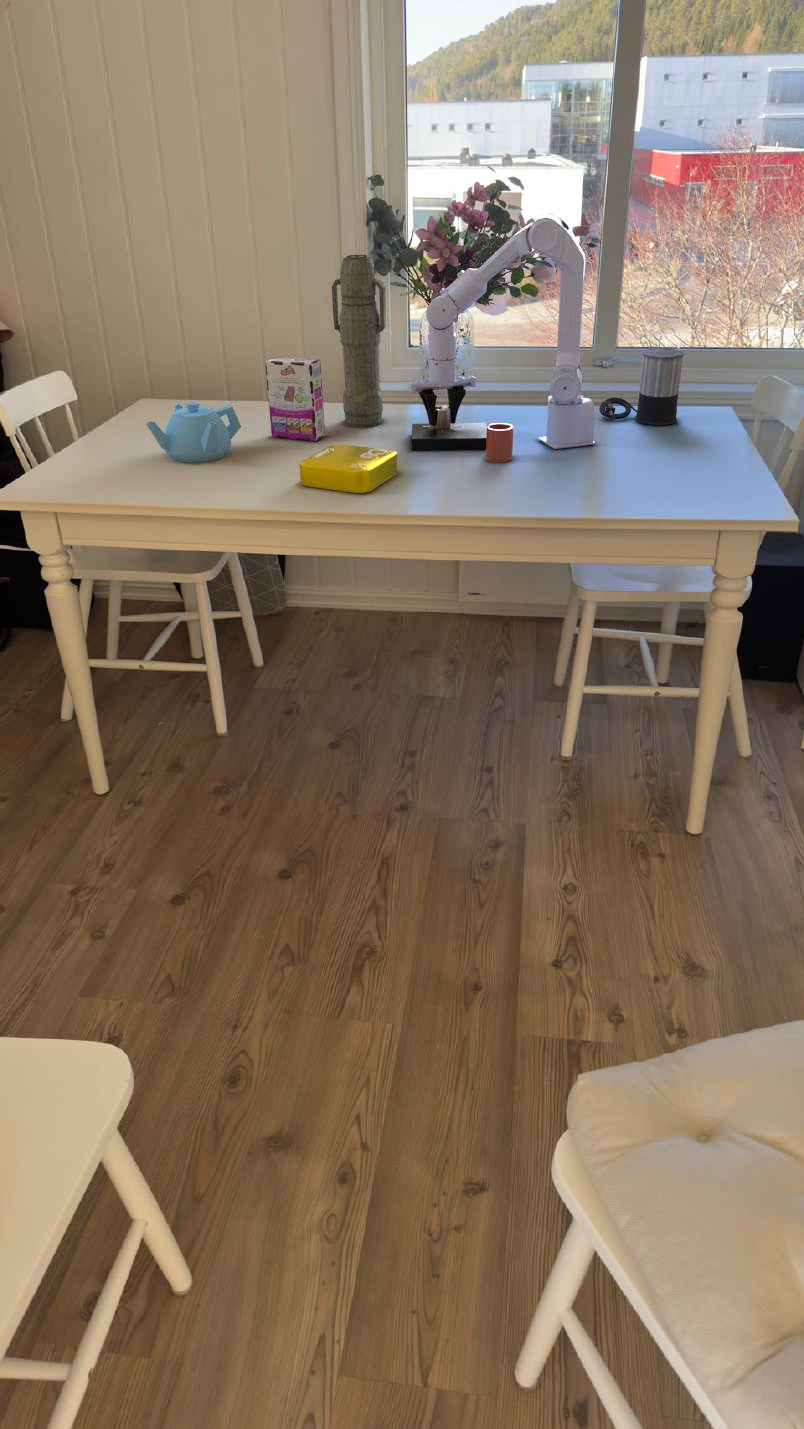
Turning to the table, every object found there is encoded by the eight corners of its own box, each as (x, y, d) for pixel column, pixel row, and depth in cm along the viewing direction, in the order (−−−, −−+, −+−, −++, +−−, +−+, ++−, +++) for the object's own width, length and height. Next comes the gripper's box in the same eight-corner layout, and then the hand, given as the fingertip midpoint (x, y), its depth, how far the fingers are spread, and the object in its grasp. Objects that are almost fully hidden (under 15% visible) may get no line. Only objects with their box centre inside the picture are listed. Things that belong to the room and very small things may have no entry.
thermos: (385, 427, 230) (380, 258, 212) (334, 426, 232) (325, 258, 214) (392, 417, 238) (388, 253, 220) (343, 416, 239) (335, 253, 222)
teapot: (218, 467, 207) (212, 414, 201) (149, 464, 210) (142, 410, 205) (245, 446, 220) (240, 395, 214) (180, 443, 223) (174, 392, 217)
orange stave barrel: (505, 453, 211) (506, 422, 208) (516, 460, 207) (517, 428, 204) (481, 456, 210) (482, 424, 206) (492, 463, 205) (492, 431, 202)
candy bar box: (326, 436, 225) (321, 358, 217) (316, 442, 221) (311, 363, 213) (281, 431, 229) (275, 355, 221) (270, 437, 225) (263, 360, 217)
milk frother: (684, 424, 228) (692, 355, 220) (618, 430, 225) (624, 360, 217) (656, 409, 240) (663, 342, 232) (593, 414, 237) (598, 347, 229)
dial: (451, 424, 222) (451, 404, 220) (451, 429, 219) (451, 408, 217) (432, 424, 222) (432, 404, 220) (432, 429, 219) (432, 409, 217)
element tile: (334, 464, 207) (333, 440, 205) (401, 472, 202) (400, 448, 199) (296, 485, 196) (294, 461, 193) (366, 495, 190) (365, 470, 188)
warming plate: (485, 432, 225) (485, 420, 224) (488, 449, 214) (488, 437, 212) (412, 433, 226) (412, 421, 224) (411, 451, 214) (411, 438, 213)
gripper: (467, 351, 218) (466, 415, 225) (403, 357, 215) (404, 422, 222) (480, 357, 213) (478, 423, 220) (414, 364, 209) (415, 430, 216)
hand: (442, 423), depth 220 cm, fingers closed on dial, 4 cm apart
